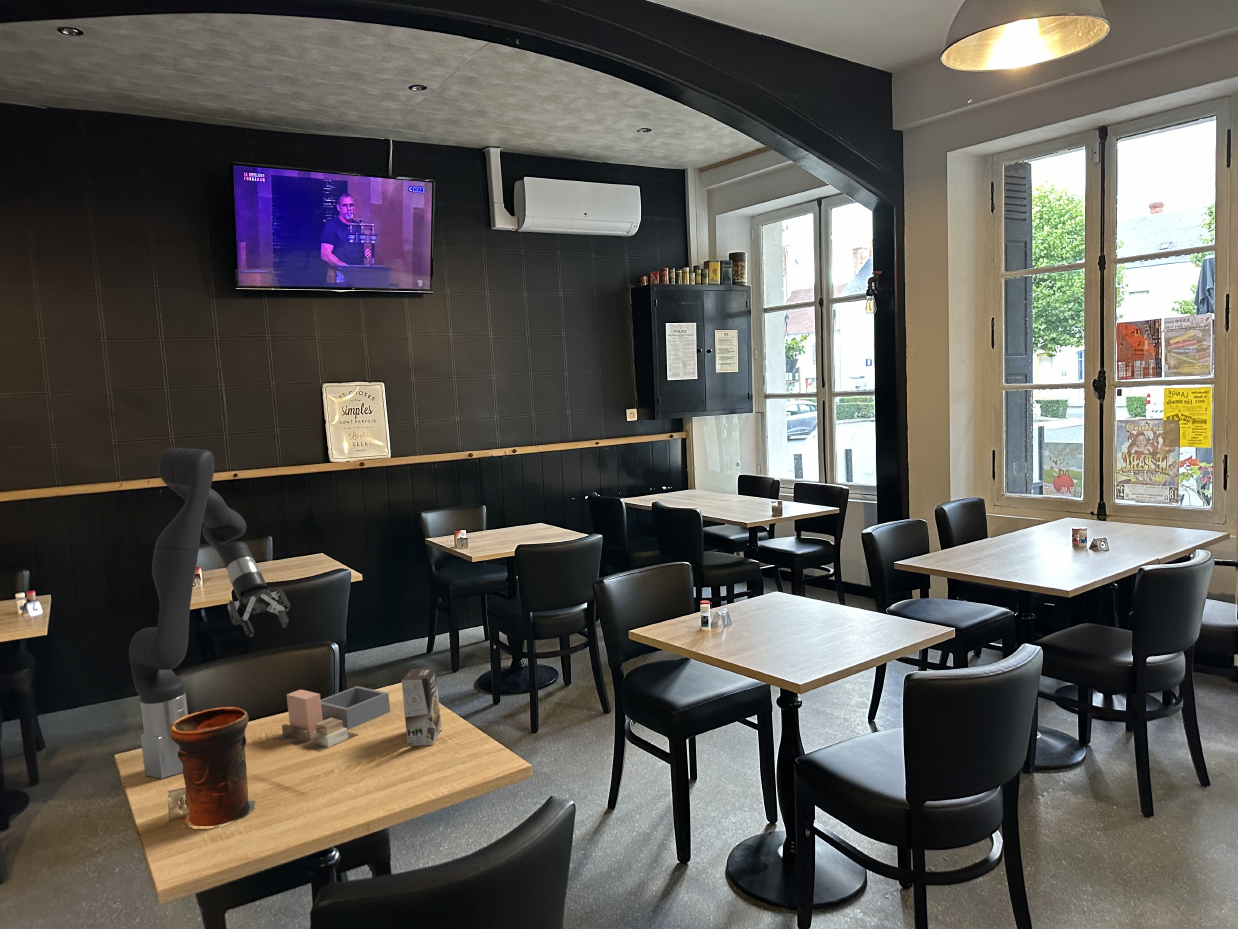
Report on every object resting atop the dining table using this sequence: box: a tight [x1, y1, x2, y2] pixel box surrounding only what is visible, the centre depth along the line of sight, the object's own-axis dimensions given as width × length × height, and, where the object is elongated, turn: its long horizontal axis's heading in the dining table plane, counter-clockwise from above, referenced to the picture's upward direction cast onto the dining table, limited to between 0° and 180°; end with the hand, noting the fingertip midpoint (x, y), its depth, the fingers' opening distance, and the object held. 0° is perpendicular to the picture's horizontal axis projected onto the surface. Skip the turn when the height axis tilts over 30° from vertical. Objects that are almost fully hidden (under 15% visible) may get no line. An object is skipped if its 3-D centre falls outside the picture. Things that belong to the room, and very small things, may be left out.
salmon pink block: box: [286, 689, 323, 739], centre depth 214 cm, size 8×4×10 cm, turn 54°
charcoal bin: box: [321, 685, 391, 731], centre depth 224 cm, size 13×13×6 cm
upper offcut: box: [316, 718, 343, 735], centre depth 208 cm, size 4×4×2 cm
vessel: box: [170, 706, 256, 829], centre depth 176 cm, size 14×14×20 cm
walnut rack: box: [273, 720, 359, 753], centre depth 212 cm, size 19×11×4 cm, turn 54°
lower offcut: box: [312, 727, 349, 748], centre depth 208 cm, size 6×6×2 cm
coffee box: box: [401, 666, 443, 747], centre depth 207 cm, size 9×6×16 cm
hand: (269, 630), depth 220 cm, fingers open, 8 cm apart
